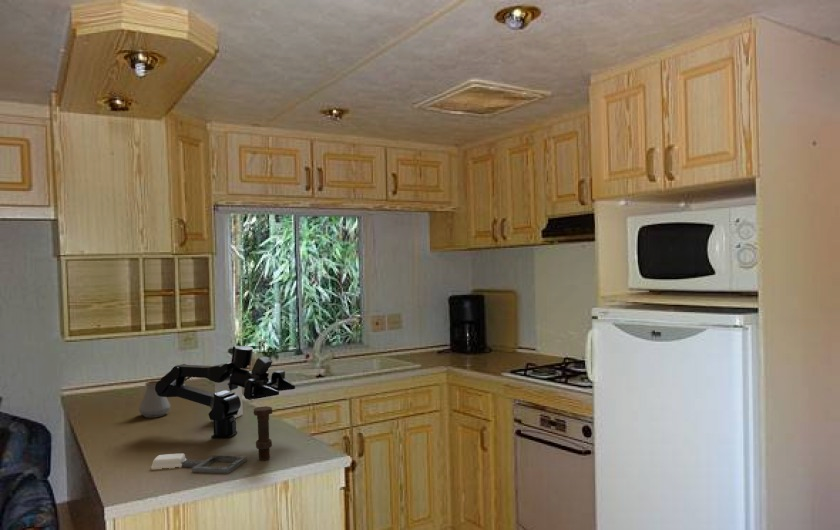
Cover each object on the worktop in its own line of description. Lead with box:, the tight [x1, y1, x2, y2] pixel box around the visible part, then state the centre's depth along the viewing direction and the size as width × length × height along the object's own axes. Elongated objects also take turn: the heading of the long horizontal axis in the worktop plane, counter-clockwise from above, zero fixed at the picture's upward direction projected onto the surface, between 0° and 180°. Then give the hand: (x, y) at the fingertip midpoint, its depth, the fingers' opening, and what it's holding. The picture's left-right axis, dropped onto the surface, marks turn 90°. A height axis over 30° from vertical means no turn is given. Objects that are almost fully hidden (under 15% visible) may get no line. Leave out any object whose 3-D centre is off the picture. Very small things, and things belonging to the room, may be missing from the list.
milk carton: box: [214, 380, 243, 419], centre depth 232 cm, size 7×7×19 cm
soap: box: [150, 452, 188, 470], centre depth 177 cm, size 9×7×3 cm
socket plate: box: [181, 455, 248, 475], centre depth 174 cm, size 16×11×1 cm, turn 79°
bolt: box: [253, 406, 273, 461], centre depth 179 cm, size 6×5×15 cm
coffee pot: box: [138, 377, 193, 419], centre depth 238 cm, size 21×12×15 cm, turn 84°
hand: (286, 390), depth 197 cm, fingers open, 9 cm apart
